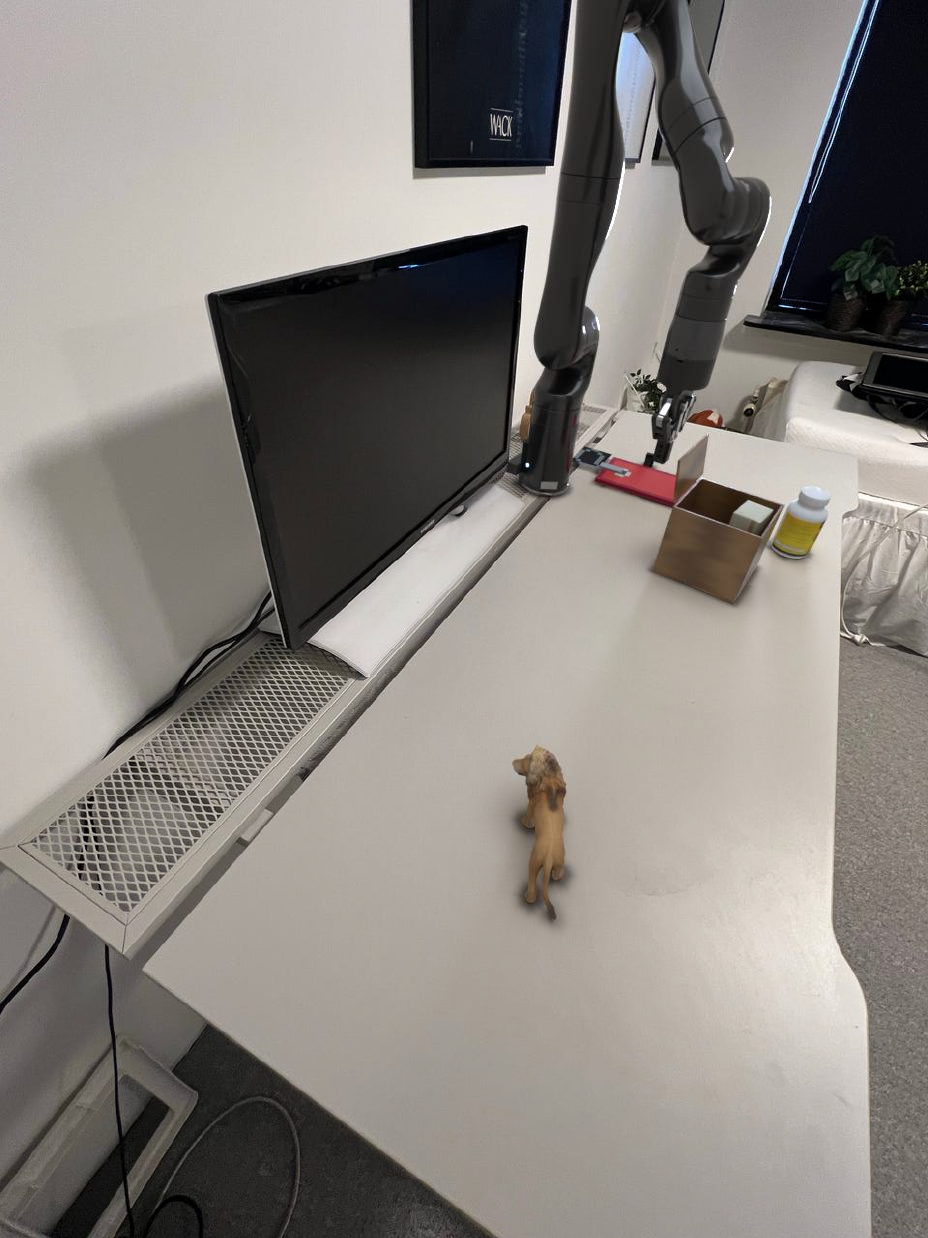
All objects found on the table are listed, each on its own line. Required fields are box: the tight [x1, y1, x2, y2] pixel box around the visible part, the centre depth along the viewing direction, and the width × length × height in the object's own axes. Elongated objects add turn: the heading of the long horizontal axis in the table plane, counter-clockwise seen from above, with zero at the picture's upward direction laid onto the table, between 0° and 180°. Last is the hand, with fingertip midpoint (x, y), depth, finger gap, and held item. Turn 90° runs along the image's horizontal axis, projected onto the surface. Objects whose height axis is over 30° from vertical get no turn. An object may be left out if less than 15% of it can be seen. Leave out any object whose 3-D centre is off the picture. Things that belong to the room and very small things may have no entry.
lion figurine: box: [511, 744, 567, 921], centre depth 59 cm, size 15×5×9 cm, turn 6°
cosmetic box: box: [729, 500, 773, 537], centre depth 96 cm, size 6×4×12 cm
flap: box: [673, 433, 710, 503], centre depth 94 cm, size 7×13×1 cm
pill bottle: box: [770, 485, 832, 560], centre depth 104 cm, size 6×6×12 cm
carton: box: [652, 477, 786, 605], centre depth 98 cm, size 14×13×12 cm
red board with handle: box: [572, 445, 698, 507], centre depth 124 cm, size 30×3×15 cm
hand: (659, 461), depth 97 cm, fingers closed
